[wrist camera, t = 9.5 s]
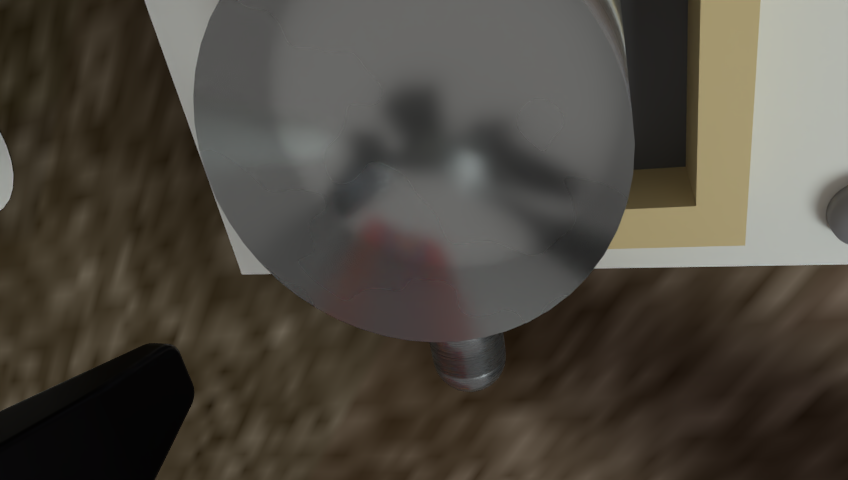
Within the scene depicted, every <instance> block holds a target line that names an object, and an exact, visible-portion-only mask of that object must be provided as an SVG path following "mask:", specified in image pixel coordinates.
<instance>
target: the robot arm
mask: <svg viewBox="0 0 848 480" xmlns="http://www.w3.org/2000/svg"><path fill="white" fill-rule="evenodd" d="M193 399H194V386H193V383H192V381H191V378H190V376H189V374H188V371H187V369H186V366H185V364H184V362H183V359H182V357H181V354H180V352H179V350H178V349H177V348H176V347H175V346H173V345H171V344H159V343H149V344H145V345H143V346H141V347H138V348H136V349H134V350H132V351H130V352H128V353H125V354H123V355H121V356H119V357H117V358H115V359H112V360H110V361H108V362H106V363H104V364H102V365H99V366H97V367H95V368H93V369H91V370H89V371H86V372H84V373H82V374H80V375H78V376H76V377H73V378H71V379H69V380H67V381H65V382H63V383H60V384H58V385H56V386H54V387H52V388H50V389H47V390H45V391H43V392H41V393H39V394H37V395H34V396H32V397H30V398H28V399H26V400H24V401H21V402H19V403H17V404H15V405H13V406H11V407H8V408H6V409H4V410H2V411H0V480H155V478H156V476H157V474H158V472H159V470H160V468H161V466H162V464H163V462H164V460H165V458H166V456H167V454H168V452H169V450H170V448H171V446H172V444H173V442H174V440H175V438H176V436H177V434H178V431H179V429H180V427H181V425H182V423H183V421H184V419H185V417H186V415H187V413H188V411H189V409H190V407H191V405H192V402H193Z"/></svg>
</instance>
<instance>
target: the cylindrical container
mask: <svg viewBox="0 0 848 480" xmlns="http://www.w3.org/2000/svg"><path fill="white" fill-rule="evenodd" d="M12 189H13V169H12V162H11V158H10V155H9V152H8V149H7V146H6V144H5V141H4V139H3V137H2V135H1V133H0V210H1V209H3V208H4V206H5V205H6V203H7V202H8V201H9V199H10V196H11V192H12Z"/></svg>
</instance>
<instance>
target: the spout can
mask: <svg viewBox="0 0 848 480" xmlns="http://www.w3.org/2000/svg"><path fill="white" fill-rule="evenodd" d="M193 104H194V123H195V129H196V135H197V141H198V147H199V151H200V155H201V158H202V162H203V165H204V168H205V172H206V175H207V178H208V180H209V182H210V185H211V187H212V190H213V192H214V194H215V197H216V199H217V201H218V203H219V205H220V207H221V208H222V210H223V212H224V214H225V216H226V218H227V219H228V221H229V223H230V224H231V226H232V227H233V229H234V230H235V232H236V233H237V234H238V236H239V237H240V239H241V240H242V242H243V243H244V244H245V245H246V247H247V248H248V249H249V250H250V251H251V253H252V254H253V255H254V256H255V257H256V259H257V260H258V261H259V262H260V263H261V264H262V265H263V266H264V267H265V268H266V269H267V270H268V271H269V272H270V273H271V274H272V275H273V276H274V277H275V278H276V279H277V280H279V281H280V282H281V283H282V284H284V285H285V286H286V287H287V288H289V289H290V290H291V291H292V292H294V293H295V294H296V295H297V296H299V297H300V298H302V299H304V300H305V301H307V302H308V303H310V304H311V305H313V306H314V307H316V308H317V309H319V310H321V311H323V312H325V313H327V314H329V315H331V316H332V317H334V318H336V319H338V320H340V321H343V322H345V323H348V324H350V325H353V326H355V327H358V328H360V329H363V330H366V331H370V332H373V333H376V334H380V335H383V336H388V337H393V338H398V339H404V340H409V341H423V342H430V347H431V352H432V357H433V361H434V365H435V368H436V370H437V372H438V374H439V375H440V377H441V378H442V379H443V381H445V382H446V383H447V384H448V385H449V386H451V387H453V388H455V389H457V390H460V391H465V392H475V391H479V390H483V389H485V388H487V387H489V386H490V385H492V384H493V383H494V382H495V381H496V380H497V379H498V377H499V376H500V374H501V373H502V371H503V368H504V365H505V360H506V350H505V343H504V336H503V332H505V331H508V330H510V329H513V328H515V327H518V326H520V325H522V324H525V323H527V322H529V321H531V320H533V319H535V318H536V317H538V316H540V315H542V314H543V313H545V312H547V311H549V310H550V309H552V308H553V307H554V306H556V305H557V304H558V303H559V302H561V301H562V300H563V299H565V298H566V297H567V296H569V295H570V294H571V293H572V292H573V291H574V290H575V289H576V288H577V287H578V286H579V285H580V284H581V283H582V282H583V281H584V280H585V279H586V278H587V277H588V276H589V274H590V273H591V272H592V270H593V269H594V268H595V266H596V265H597V264H598V262H599V261H600V260H601V258H602V257H603V256H604V254H605V252H606V251H607V249H608V247H609V245H610V243H611V241H612V239H613V238H614V236H615V234H616V232H617V230H618V227H619V225H620V222H621V219H622V216H623V214H624V211H625V208H626V205H627V202H628V197H629V192H630V187H631V182H632V178H633V168H634V150H635V140H634V129H633V118H632V107H631V98H630V88H629V79H628V69H627V59H626V50H625V40H624V31H623V21H622V11H621V2H620V0H219V2H218V4H217V5H216V7H215V9H214V11H213V13H212V15H211V17H210V19H209V22H208V25H207V27H206V30H205V33H204V36H203V39H202V41H201V45H200V49H199V54H198V59H197V64H196V69H195V79H194V93H193Z"/></svg>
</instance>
